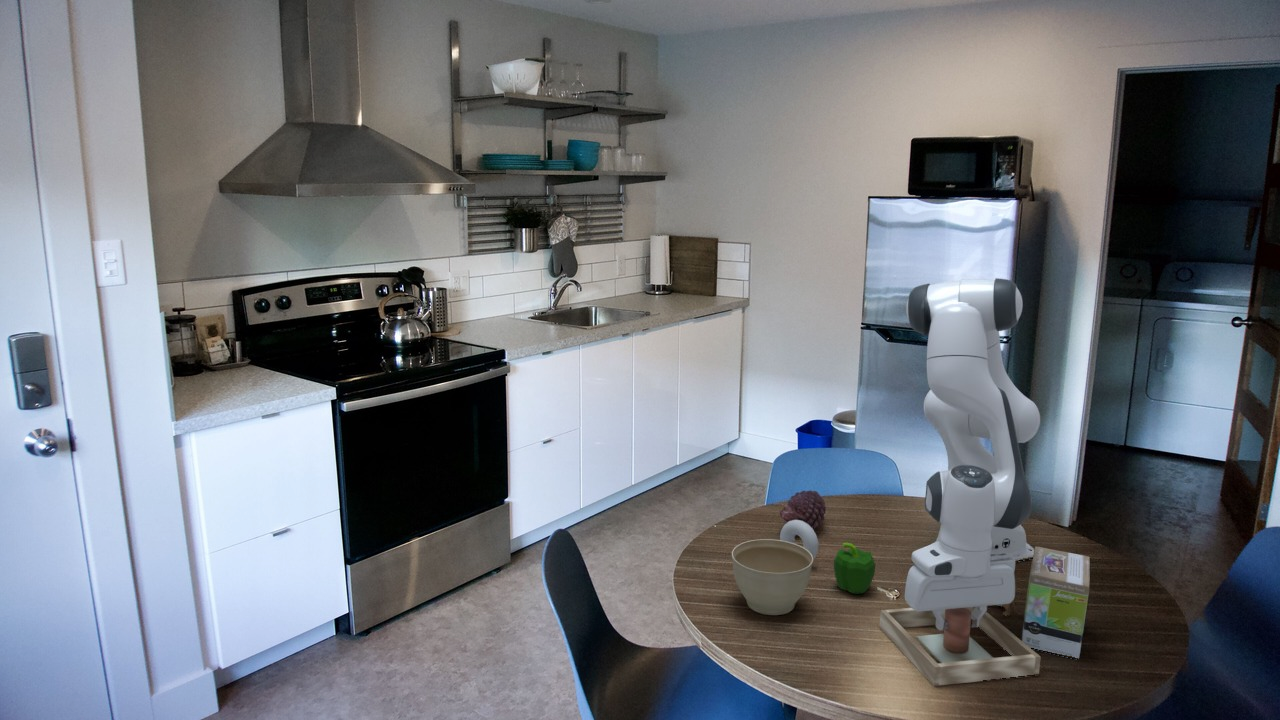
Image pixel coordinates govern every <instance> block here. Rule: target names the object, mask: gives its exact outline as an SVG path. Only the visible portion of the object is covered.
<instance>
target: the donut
mask: <svg viewBox="0 0 1280 720" xmlns="http://www.w3.org/2000/svg"><path fill="white" fill-rule="evenodd" d="M796 536H799V538H800V539H801V541H802V545H803V546H802V547H804V548H805V549H807V550H808V551H809V552H810V553H811V554H812V556H813V560H815V558H816V556H817V555H818V552H819V548H820V547H819V539H818V536H817V534H816V532H815V530H813V529H812V528H811V527H810V526H809V525H808V524H807V523H805V522H803V521H800V520H792V521H789V522H785V524H783V527H782V528H781V529H780V534H779V540H782V541H786V542H791V543H794V544H797V543H796V539H795V538H796Z"/></svg>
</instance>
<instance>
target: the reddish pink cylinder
mask: <svg viewBox="0 0 1280 720" xmlns="http://www.w3.org/2000/svg"><path fill="white" fill-rule="evenodd" d="M945 620H947V621H948V622H949V623H948V626H947V627H948V630H943V634H944V638H943V646H944V648H945V649H947V650H949V651H951V652H954V653H965V652H967V651H968V649H969V636H970V633H971V627H970V623H971V612H970V611H969V610H968V609H966V608H955V609H945ZM970 637H971V636H970Z"/></svg>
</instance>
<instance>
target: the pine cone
mask: <svg viewBox="0 0 1280 720" xmlns="http://www.w3.org/2000/svg"><path fill="white" fill-rule="evenodd" d="M826 509H827V506H826V501H825V500H824V498H822V496H821V495H820V493H819V492H818V491H816V490H802V491H801V492H795V494H794V495H791V497H790V499H788V501H787V504H786V503H784V505H783V508H782V510H781V511H779V515H780V517H781V518H782V519H783V520H784V521H785V523H788V522H789V521H792V520H800V521H803V522H805V523H807V524H808V525H809V526H810V527H811V528H812V529H813V530H814V531H815V530H816V528H817V527H820V526H821V525H822V521H824V520H825V514H826Z"/></svg>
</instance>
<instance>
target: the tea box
mask: <svg viewBox="0 0 1280 720" xmlns="http://www.w3.org/2000/svg"><path fill="white" fill-rule="evenodd" d="M1090 559H1091V558H1090V556H1088V555H1083V554H1078V553H1077V554H1076V553H1072V552H1067V551H1063V550H1056V549H1051V548H1047V547H1041V546H1035V547H1034V555H1033V559H1031V560H1032V561H1031V565H1030V566H1031V567H1030V572H1029V578H1028V583H1027V592H1026V598H1025V599H1026V600H1025V609H1024V616H1023V625H1022V633H1021V635H1022V636H1021V641H1022V642H1024V643H1025V644H1026V645H1027V646H1028V647H1030V648H1034V649H1033V650H1035V649H1038V650H1037V651H1039V650H1043V651H1048V652H1052V653H1057V654H1062V655H1067V656H1072V657H1075V658H1078V659H1080V654H1081V648H1082V640H1083V634H1084V629H1085V628H1084V627H1085V621H1086V620H1085V619H1086V614H1087V608H1088V607H1087V606H1088V602H1089V601H1088V600H1089V593H1090V583H1091V581H1090V579H1091V578H1090V575H1091V574H1090V570H1091V569H1090ZM1043 651H1042V652H1043Z"/></svg>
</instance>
